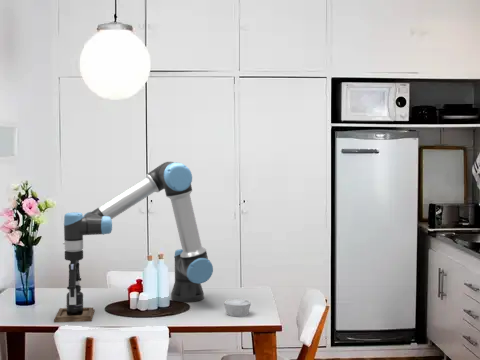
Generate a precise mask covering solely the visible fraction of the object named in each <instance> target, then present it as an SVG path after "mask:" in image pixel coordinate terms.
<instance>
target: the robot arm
mask: <svg viewBox="0 0 480 360" xmlns="http://www.w3.org/2000/svg"><path fill="white" fill-rule="evenodd" d="M192 182H193V175H192V172H191V170H190V168H189V167H188V166H187V165H185V164H184V163H181V162H174V161H165V162H163V163H161V164H159V165H158V166H157V167H156V168H154V169H152V170H151V171H149V172H148V173H146V174H145V177H144V178H142V179H141V180H139V181H138V182H136V183H134V184H133V185H132V186H130V187H128V188H127V189H126V190H125V189H124V191H122V192H120V193H119V194H117V195H116V196H115V197H113V198H111V199H110V200H108V201H106V202H105V203H103V204H102V205H100V206H99V207H97V208H96V209H94V210H92V211H88V212H86V213H84V215H83V212H77V211H76V212H73V211H72V212H66V213H65V214H64V218H63V220H64V221H63V234H64V235H63V237H64V241H63V242H62V245H64V250H65V251H64V260H65V261H69V262H70V263H69V264H68V286H67V287H66V289H67V290H68V292H69V305H76V287H75V286H76V285H80V286H81V283H80V282H81V281H82V277H81V275H80V274H81V273H80V261H82V260H83V259H84V250H83V249H84V236H93V235H96V236H97V235H109V234H111V233H112V231H113V222H112V220H113V219H115V218H116V217H118V216H119V215H120V214H122V213H125V212H126V211H127V210H128V209H130V208H131V207H134V206H135V205H136V204H138V203H140V202H141V201H143V200H144V199H146V198H148V197H149V196H151V195H153V194H154V193H160V192H161V191H163V190H164V192H165V197H167V198H169V199H170V203H171V207H172V212H173V214H174V215H173V216H174V220H175V224H176V228H177V231H178V232H177V233H178V237H179V240H180V245H181V249H179V248H178V249H176V250H175V252H174V255H173V256H174V283H173V287H172V290H171V293H170V299H171V300H172V301H174V302H178V303H179V302H180V303H181V302H182V303H193V302H197V301H198V302H199V301H201V300H204V298H205V292H204V289H203V286H202V284H204V283H206V282H208V281H209V280H210V278H211V277H212V275H213V272H214V266H213V264H212V261H210V260H209V258H208V252H207V249H206V248H205V247H203V245H202V243H201V238H200V237H201V236H200V233H199V228H198V224H197V221H196V217H195V212H194V211H195V210H194V208H193V203H192V199H191V194H192V192H193V188H192ZM72 285H73V286H72Z"/></svg>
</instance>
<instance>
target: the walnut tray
mask: <svg viewBox="0 0 480 360" xmlns="http://www.w3.org/2000/svg"><path fill="white" fill-rule="evenodd" d="M95 311H96V309H94V307H93V306H92V307H89V306H88V307H83V314H82V315H78V316H69V315H67V311H66V307H60V308H59V309H58V311H57V312H56V314H55V317H54V319H53V323H75V322H76V323H78V322H92V321H93V319H94V316H95Z"/></svg>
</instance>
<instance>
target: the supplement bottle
mask: <svg viewBox="0 0 480 360" xmlns="http://www.w3.org/2000/svg"><path fill="white" fill-rule="evenodd" d="M72 286H73V285H72ZM75 287H76V305H69V291H68V292H67V293H66V307H65V308H66V311H67V315H69V316H78V315H82V314H83V308H84V294H83V292H82V286H81V284H80V285H76V286H75Z"/></svg>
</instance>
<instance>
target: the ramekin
mask: <svg viewBox="0 0 480 360" xmlns="http://www.w3.org/2000/svg"><path fill="white" fill-rule="evenodd" d="M251 303H252V302H251V301H250V300H249V299H244V298H230V299H229V298H228V299H227V300H225V301H224V308H225V313H226V314H227V316H230V317H245V316H247V315H248V314H249V313H250V306H251V305H252V304H251Z"/></svg>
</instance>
